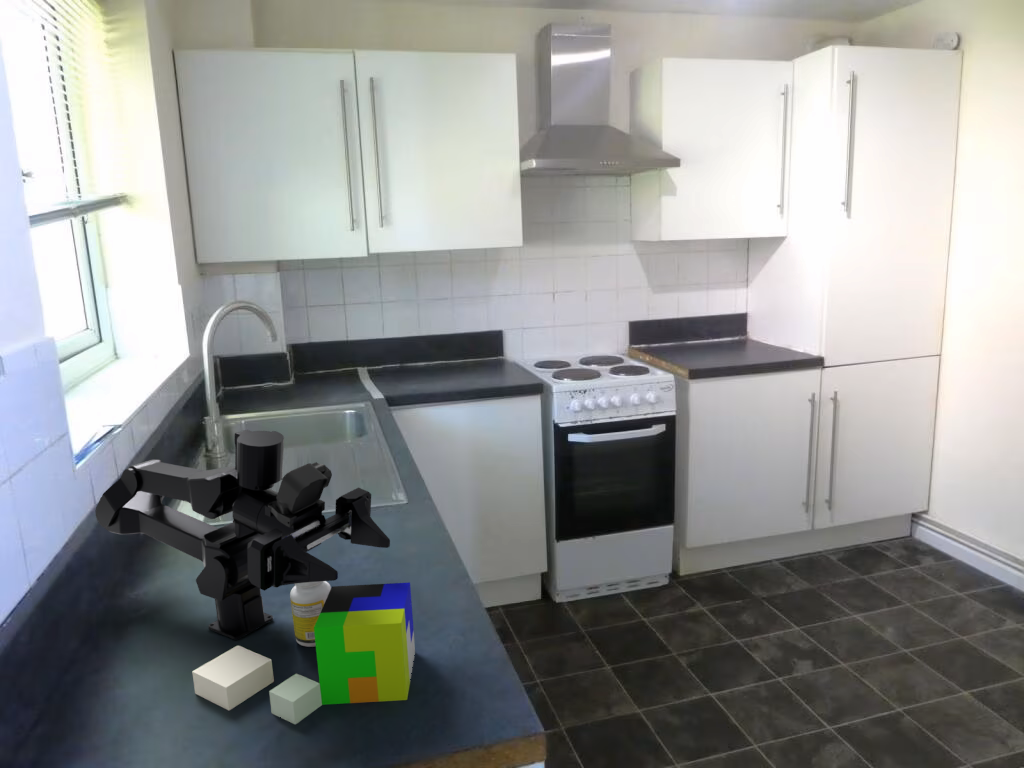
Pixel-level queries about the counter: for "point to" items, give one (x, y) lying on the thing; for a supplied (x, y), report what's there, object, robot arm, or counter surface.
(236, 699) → the base brick
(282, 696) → the brick
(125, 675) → the counter surface
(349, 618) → the puzzle toy
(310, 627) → the supplement bottle
